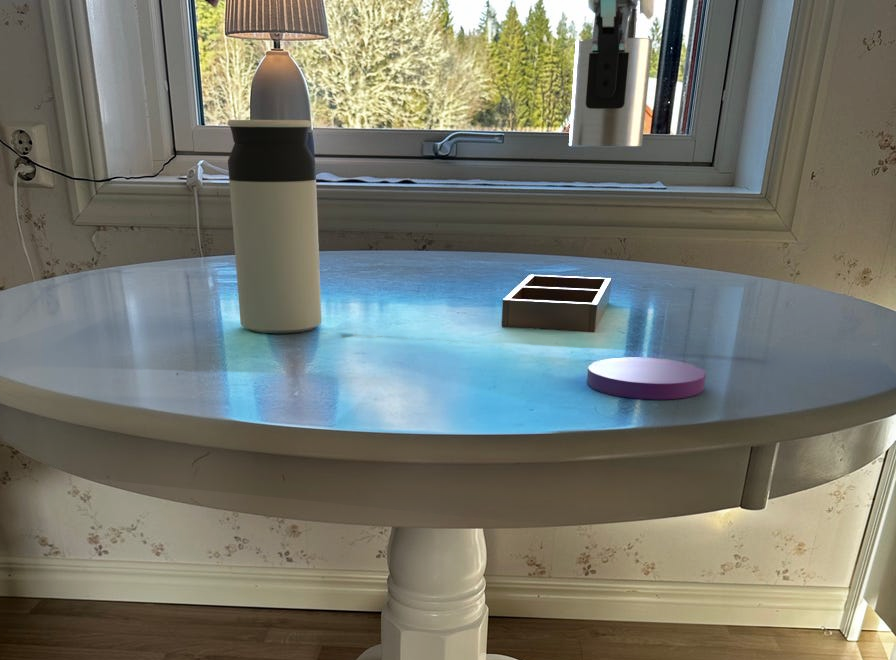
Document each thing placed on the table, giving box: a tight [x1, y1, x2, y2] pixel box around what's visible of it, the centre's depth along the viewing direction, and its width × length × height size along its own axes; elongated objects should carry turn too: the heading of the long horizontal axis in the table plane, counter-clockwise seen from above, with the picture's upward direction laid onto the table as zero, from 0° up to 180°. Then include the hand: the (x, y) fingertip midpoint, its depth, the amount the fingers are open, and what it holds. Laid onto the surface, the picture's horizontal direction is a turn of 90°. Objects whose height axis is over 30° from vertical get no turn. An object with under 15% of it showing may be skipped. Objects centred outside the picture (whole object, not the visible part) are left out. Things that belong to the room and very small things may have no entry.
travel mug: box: [226, 119, 323, 334], centre depth 90 cm, size 8×8×18 cm
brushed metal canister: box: [568, 37, 653, 148], centre depth 83 cm, size 6×6×8 cm
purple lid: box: [586, 356, 707, 401], centre depth 75 cm, size 9×9×1 cm
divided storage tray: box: [501, 274, 612, 333], centre depth 99 cm, size 9×17×3 cm, turn 165°
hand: (609, 106), depth 84 cm, fingers closed on brushed metal canister, 6 cm apart
